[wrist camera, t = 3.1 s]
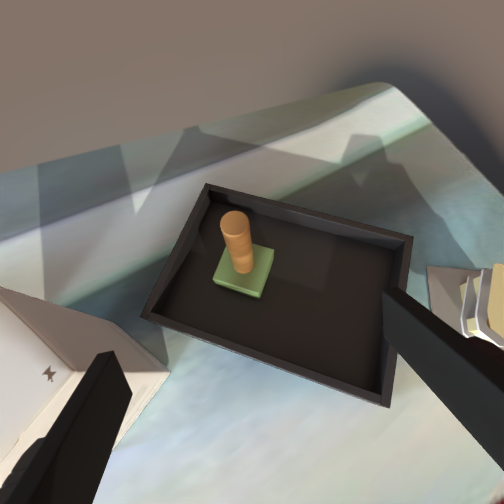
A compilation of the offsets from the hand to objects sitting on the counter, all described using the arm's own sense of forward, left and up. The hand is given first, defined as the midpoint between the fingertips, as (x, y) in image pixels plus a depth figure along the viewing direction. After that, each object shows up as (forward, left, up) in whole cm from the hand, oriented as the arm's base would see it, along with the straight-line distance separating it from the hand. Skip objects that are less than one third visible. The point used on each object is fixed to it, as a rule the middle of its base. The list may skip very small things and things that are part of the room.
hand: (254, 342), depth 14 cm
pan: (-1, +8, -16) cm, 18 cm away
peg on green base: (-5, +8, -15) cm, 18 cm away
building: (+19, +11, -16) cm, 27 cm away
